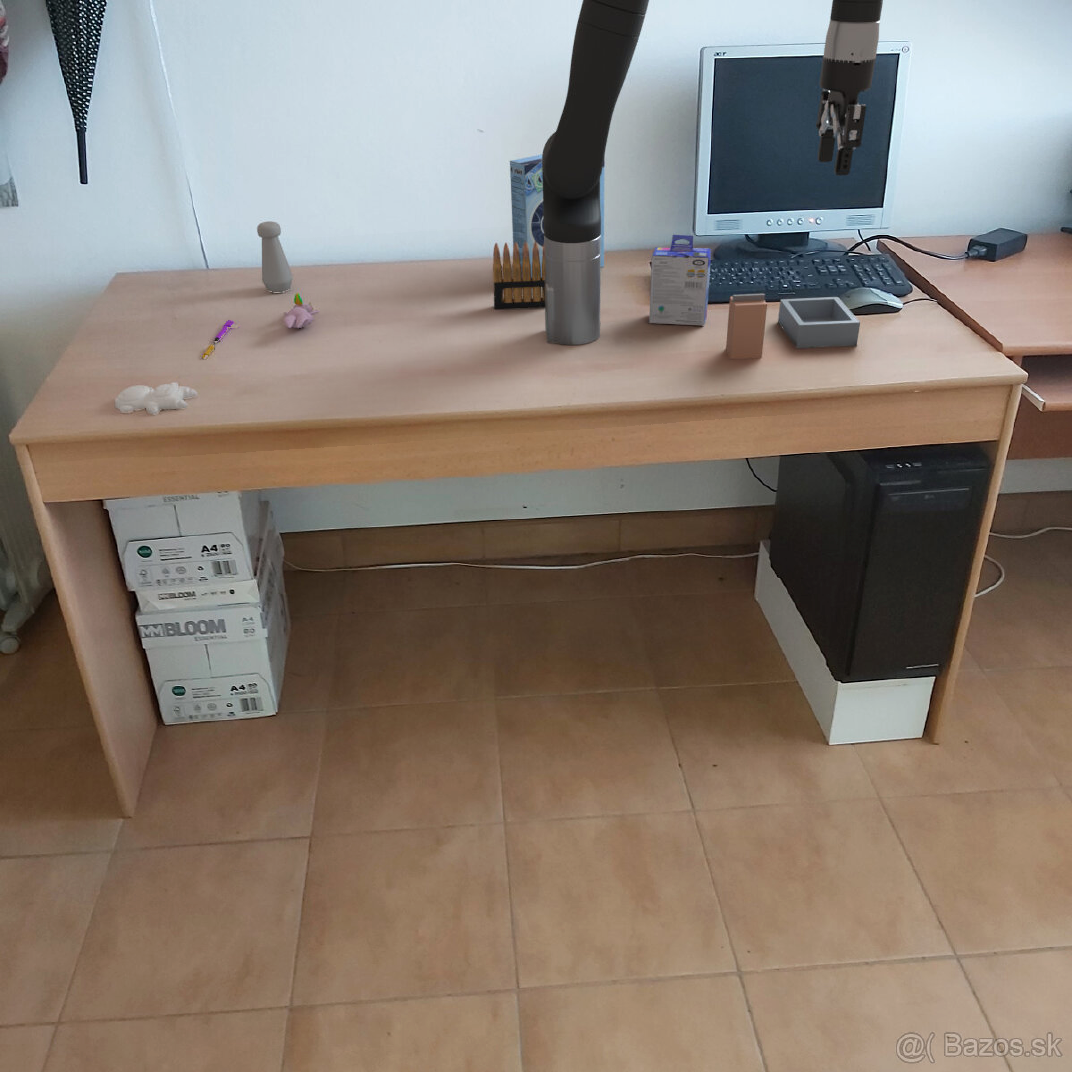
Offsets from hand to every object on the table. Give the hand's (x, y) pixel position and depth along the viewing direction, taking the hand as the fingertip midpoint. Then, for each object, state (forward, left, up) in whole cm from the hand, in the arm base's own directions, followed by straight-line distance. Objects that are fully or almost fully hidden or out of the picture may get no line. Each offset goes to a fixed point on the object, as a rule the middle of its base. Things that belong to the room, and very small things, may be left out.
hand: (832, 168), depth 158 cm
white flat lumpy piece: (-107, -17, -27) cm, 112 cm away
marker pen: (-102, +7, -27) cm, 106 cm away
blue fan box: (-41, +34, -27) cm, 59 cm away
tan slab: (-14, -9, -27) cm, 31 cm away
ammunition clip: (-49, +17, -27) cm, 58 cm away
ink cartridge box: (-22, +7, -27) cm, 35 cm away
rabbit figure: (-89, +12, -27) cm, 94 cm away
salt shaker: (-96, +32, -27) cm, 104 cm away
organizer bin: (0, -2, -27) cm, 27 cm away
